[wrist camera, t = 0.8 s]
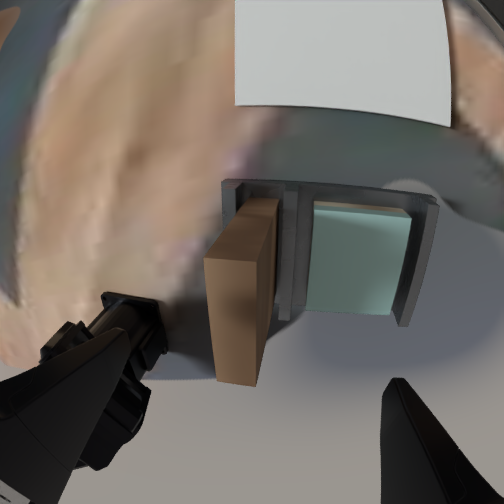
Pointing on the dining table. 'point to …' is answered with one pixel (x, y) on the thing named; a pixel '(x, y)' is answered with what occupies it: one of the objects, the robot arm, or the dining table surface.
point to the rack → (300, 230)
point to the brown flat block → (243, 290)
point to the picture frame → (490, 15)
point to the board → (345, 56)
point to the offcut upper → (355, 259)
